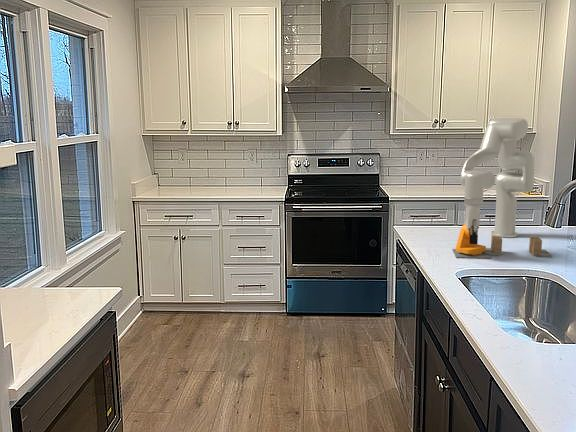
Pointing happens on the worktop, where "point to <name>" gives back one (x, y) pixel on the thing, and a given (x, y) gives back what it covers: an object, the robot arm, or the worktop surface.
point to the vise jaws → (534, 247)
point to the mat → (478, 256)
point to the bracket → (464, 243)
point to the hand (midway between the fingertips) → (471, 241)
